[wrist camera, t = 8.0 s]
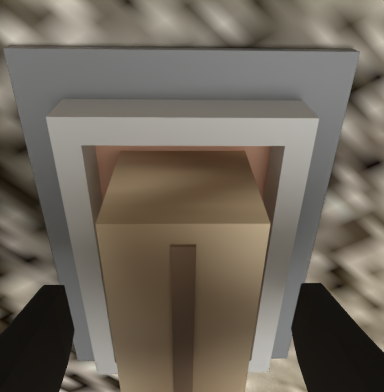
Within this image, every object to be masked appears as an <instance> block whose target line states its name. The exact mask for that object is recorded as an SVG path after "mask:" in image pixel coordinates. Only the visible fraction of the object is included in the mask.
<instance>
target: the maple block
mask: <svg viewBox="0 0 384 392" xmlns="http://www.w3.org/2000/svg"><path fill="white" fill-rule="evenodd" d="M270 224H271V223H270V221H269V218H268V215H267V212H266V209H265V206H264V204H263V201H262V198H261V195H260V192H259V189H258V186H257V184H256V181H255V178H254V175H253V172H252V169H251V166H250V164H249V161H248V158H247V155H246V152H245V151H120V154H119V157H118V159H117V162H116V165H115V168H114V171H113V174H112V177H111V180H110V183H109V186H108V189H107V192H106V195H105V198H104V200H103V203H102V206H101V209H100V212H99V215H98V218H97V221H96V224H95V225H96V231H97V238H98V244H99V251H100V258H101V264H102V271H103V277H104V284H105V290H106V297H107V304H108V310H109V317H110V323H111V330H112V336H113V343H114V350H115V356H116V363H117V369H118V376H119V382H120V389H121V392H245V386H246V380H247V373H248V367H249V360H250V354H251V347H252V341H253V334H254V328H255V321H256V315H257V308H258V302H259V295H260V289H261V282H262V276H263V269H264V263H265V256H266V250H267V243H268V237H269V230H270Z"/></svg>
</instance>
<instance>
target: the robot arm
mask: <svg viewBox="0 0 384 392" xmlns="http://www.w3.org/2000/svg"><path fill="white" fill-rule="evenodd" d="M291 331H292V336H293V341H294V346H295V350H296V355H297V359H298V363H299V366H300V369H301V372H302V375H303V378H304V381H305V384H306V387H307V390H308V392H384V352H383V351H382V350H381V349H380V348H379V347H378V346H377V345H376V344H375V343H374V342H373V341H372V340H371V339H370V338H369V337H368V335H367V334H366V333H365V332H364V331H363V330H362V329H361V328H360V327H359V326H358V325H357V324H356V322H355V321H354V320H353V319H352V318H351V317H350V316H349V315H348V313H347V312H346V311H345V310H344V309H343V308H342V307H341V305H340V304H339V303H338V302H337V301H336V300H335V298H334V297H333V296H332V295H331V294H330V293H329V291H328V290H327V289H326V288H325V287H324V286H323V285H322V284H321V283H301V287H300V291H299V295H298V299H297V304H296V308H295V312H294V317H293V321H292V325H291ZM74 332H75V329H74V325H73V320H72V316H71V312H70V307H69V303H68V299H67V294H66V290H65V286H64V285H44V286H43V287H41V288H40V290H39V291H38V292H37V293H36V294H35V295H34V297H33V298H32V299H31V300H30V301H29V302H28V304H27V305H26V306H25V307H24V308H23V309H22V311H21V312H20V313H19V314H18V315H17V316H16V318H15V319H14V320H13V321H12V322H11V323H10V324H9V326H8V327H7V328H6V329H5V330H4V331H3V332H2V333H1V334H0V392H59V390H60V387H61V384H62V381H63V378H64V375H65V371H66V368H67V365H68V361H69V356H70V352H71V347H72V342H73V337H74Z"/></svg>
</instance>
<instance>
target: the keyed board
mask: <svg viewBox="0 0 384 392" xmlns="http://www.w3.org/2000/svg"><path fill="white" fill-rule="evenodd" d="M3 50H4V54H5V58H6V62H7V67H8V71H9V75H10V79H11V83H12V87H13V92H14V96H15V100H16V104H17V108H18V113H19V117H20V121H21V125H22V129H23V133H24V138H25V142H26V146H27V150H28V154H29V158H30V163H31V167H32V171H33V175H34V179H35V183H36V188H37V192H38V196H39V200H40V204H41V208H42V213H43V217H44V221H45V225H46V229H47V233H48V238H49V242H50V246H51V250H52V254H53V258H54V263H55V267H56V271H57V275H58V279H59V283H60V285H64V286H65V290H66V294H67V299H68V303H69V307H70V312H71V316H72V320H73V325H74V329H75V332H74V337H73V342H74V346H75V350H76V354H77V358H78V361H95V364H96V369H97V374H118V369H117V363H116V356H115V350H114V343H113V336H112V330H111V323H110V317H109V310H108V304H107V297H106V290H105V284H104V277H103V271H102V264H101V258H100V251H99V244H98V238H97V231H96V225H95V224H96V221H97V218H98V215H99V212H100V209H101V206H102V203H103V200H104V198H105V195H106V192H107V189H108V186H109V183H110V180H111V177H112V174H113V171H114V168H115V165H116V162H117V159H118V157H119V154H120V151H245V152H246V155H247V158H248V161H249V164H250V166H251V169H252V172H253V175H254V178H255V181H256V184H257V186H258V189H259V192H260V195H261V198H262V201H263V204H264V206H265V209H266V212H267V215H268V218H269V221H270V223H271V224H270V230H269V237H268V243H267V250H266V256H265V263H264V269H263V276H262V282H261V289H260V295H259V302H258V308H257V315H256V321H255V328H254V334H253V341H252V347H251V354H250V360H249V367H248V372H268V370H269V365H270V360H271V359H276V358H287V355H288V351H289V347H290V343H291V338H292V331H291V325H292V321H293V317H294V312H295V308H296V304H297V299H298V295H299V291H300V287H301V283H305V280H306V275H307V271H308V267H309V263H310V259H311V254H312V250H313V246H314V242H315V238H316V233H317V229H318V225H319V221H320V217H321V212H322V208H323V204H324V200H325V196H326V191H327V187H328V183H329V179H330V175H331V170H332V166H333V162H334V158H335V154H336V149H337V145H338V141H339V137H340V133H341V129H342V124H343V120H344V116H345V112H346V108H347V103H348V99H349V95H350V91H351V87H352V82H353V78H354V74H355V70H356V66H357V61H358V57H359V53H360V52H359V51H357V50H355V49H274V48H177V47H79V46H7V47H5V48H3Z"/></svg>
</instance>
